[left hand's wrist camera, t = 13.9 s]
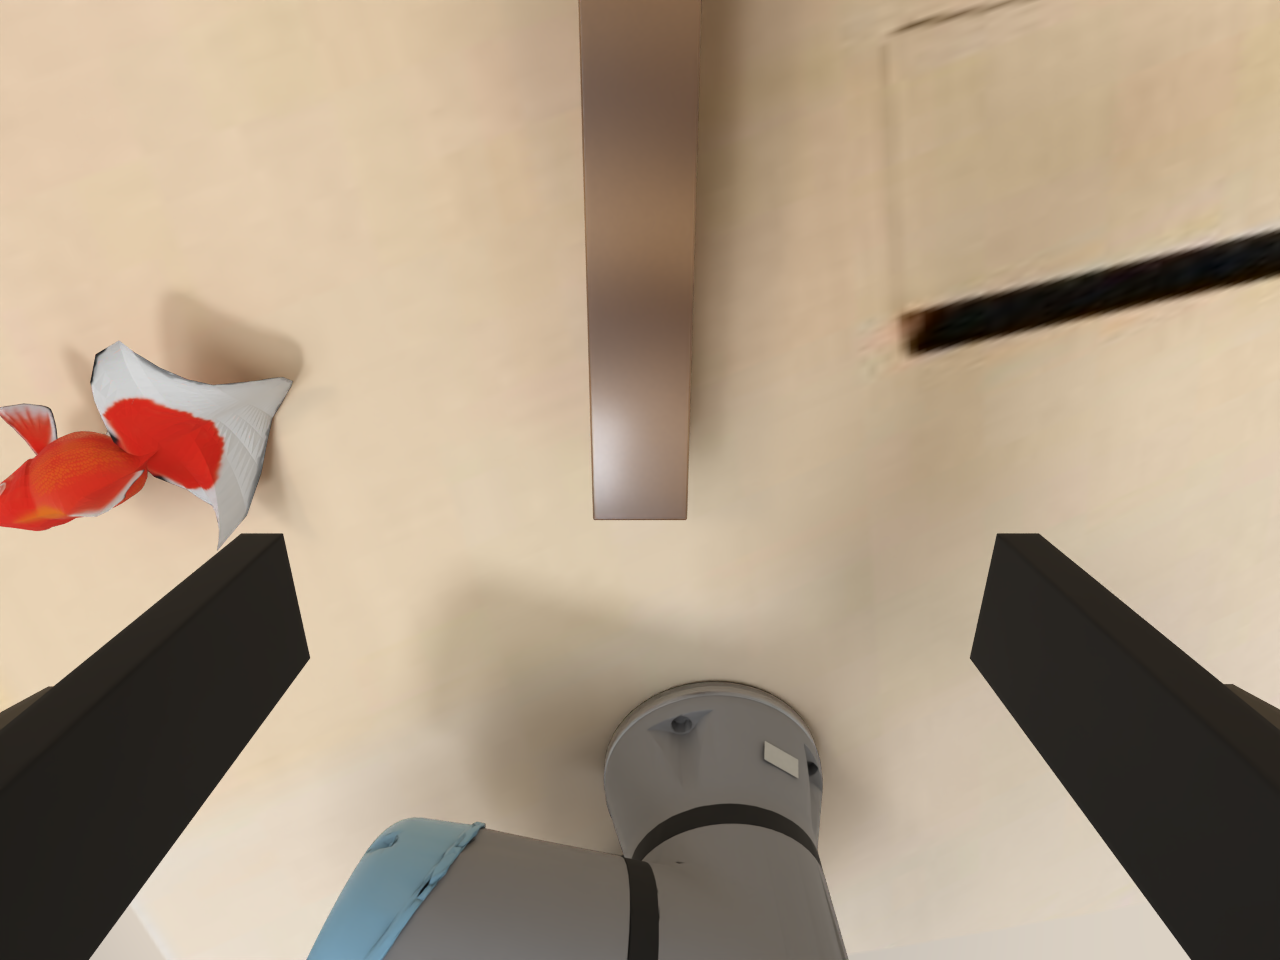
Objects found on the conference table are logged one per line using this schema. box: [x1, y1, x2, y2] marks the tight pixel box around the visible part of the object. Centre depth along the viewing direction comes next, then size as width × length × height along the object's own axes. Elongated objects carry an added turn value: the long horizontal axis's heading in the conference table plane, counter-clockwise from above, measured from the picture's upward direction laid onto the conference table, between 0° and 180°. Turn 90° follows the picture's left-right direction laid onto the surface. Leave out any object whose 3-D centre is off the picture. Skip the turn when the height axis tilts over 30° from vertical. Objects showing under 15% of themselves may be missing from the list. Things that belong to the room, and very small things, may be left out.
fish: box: [0, 341, 293, 550], centre depth 36 cm, size 11×16×10 cm
